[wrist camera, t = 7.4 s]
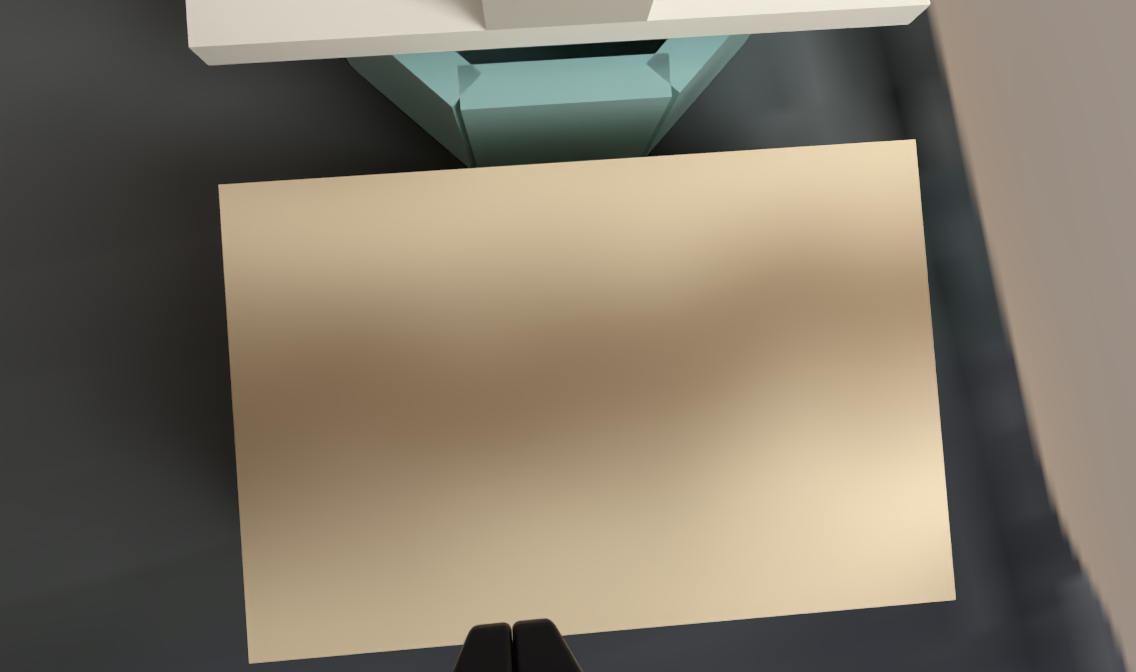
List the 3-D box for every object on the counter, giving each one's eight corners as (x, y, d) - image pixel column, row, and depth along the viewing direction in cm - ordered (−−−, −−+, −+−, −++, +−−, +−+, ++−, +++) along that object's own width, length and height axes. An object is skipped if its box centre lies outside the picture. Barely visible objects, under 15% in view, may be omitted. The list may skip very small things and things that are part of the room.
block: (836, 532, 20) (955, 599, 14) (331, 575, 19) (249, 663, 14) (808, 201, 20) (915, 139, 14) (309, 235, 19) (218, 184, 14)
